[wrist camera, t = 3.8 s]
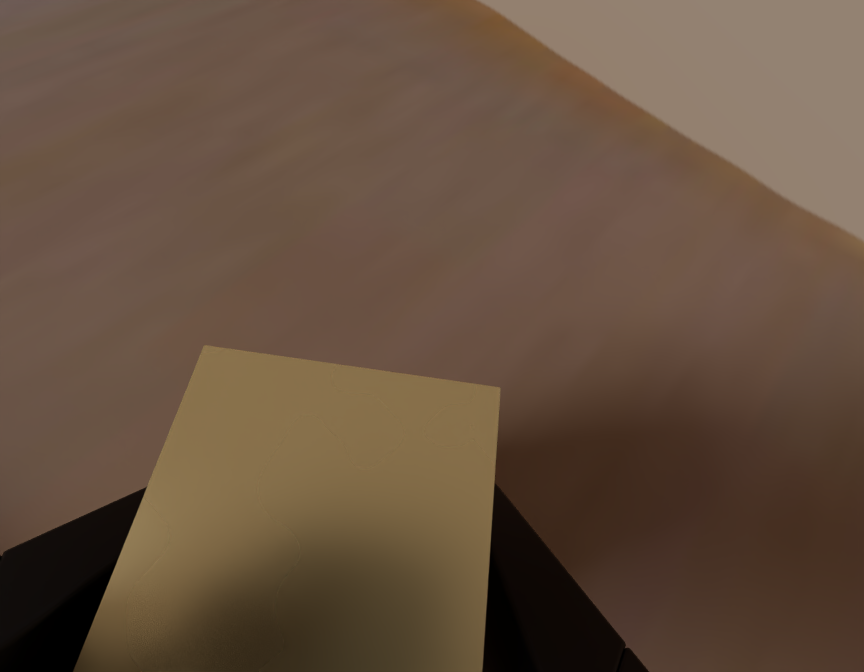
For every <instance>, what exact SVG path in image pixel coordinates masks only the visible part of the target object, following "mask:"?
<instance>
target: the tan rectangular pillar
mask: <svg viewBox="0 0 864 672" xmlns="http://www.w3.org/2000/svg"><path fill="white" fill-rule="evenodd" d="M499 403H500V387H493V386H486V385H479V384H472V383H465V382H458V381H451V380H444V379H437V378H430V377H423V376H416V375H409V374H402V373H395V372H388V371H381V370H374V369H367V368H360V367H353V366H346V365H339V364H332V363H325V362H318V361H311V360H304V359H297V358H290V357H283V356H276V355H269V354H262V353H255V352H248V351H241V350H234V349H227V348H220V347H213V346H206V345H204V347H203V350H202V352H201V355H200V357H199V359H198V362H197V364H196V367H195V369H194V372H193V374H192V377H191V379H190V382H189V384H188V387H187V389H186V392H185V394H184V397H183V399H182V402H181V404H180V407H179V409H178V412H177V414H176V417H175V419H174V422H173V424H172V427H171V429H170V432H169V434H168V437H167V439H166V442H165V444H164V447H163V449H162V452H161V454H160V457H159V459H158V462H157V464H156V466H155V469H154V471H153V474H152V476H151V479H150V481H149V484H148V486H147V489H146V491H145V494H144V496H143V499H142V501H141V504H140V506H139V509H138V511H137V514H136V516H135V519H134V521H133V524H132V526H131V529H130V531H129V534H128V536H127V539H126V541H125V544H124V546H123V549H122V551H121V554H120V556H119V559H118V561H117V564H116V566H115V569H114V571H113V573H112V576H111V578H110V581H109V583H108V586H107V588H106V591H105V593H104V596H103V598H102V601H101V603H100V606H99V608H98V611H97V613H96V616H95V618H94V621H93V623H92V626H91V628H90V631H89V633H88V636H87V638H86V641H85V643H84V646H83V648H82V651H81V653H80V656H79V658H78V661H77V663H76V666H75V668H74V671H73V672H482V668H483V652H484V637H485V621H486V605H487V590H488V574H489V559H490V543H491V528H492V512H493V497H494V481H495V466H496V450H497V435H498V419H499Z"/></svg>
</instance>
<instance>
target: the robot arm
mask: <svg viewBox="0 0 864 672" xmlns="http://www.w3.org/2000/svg"><path fill="white" fill-rule="evenodd" d="M146 489H147V487H146V488H143V489H141V490H139V491H137V492H134V493H132V494H130V495H128V496H126V497H123V498H121V499H119V500H117V501H115V502H112V503H110V504H108V505H106V506H104V507H101V508H99V509H97V510H95V511H92V512H90V513H88V514H86V515H84V516H81V517H79V518H77V519H75V520H73V521H70V522H68V523H66V524H64V525H62V526H59V527H57V528H55V529H53V530H50V531H48V532H46V533H44V534H42V535H39V536H37V537H35V538H33V539H31V540H28V541H26V542H24V543H22V544H19V545H17V546H15V547H13V548H11V549H8V550H6V551H5V552H4V553H3V555H2V556H1V555H0V672H73V671H74V668H75V666H76V663H77V661H78V658H79V656H80V653H81V651H82V648H83V646H84V643H85V641H86V638H87V636H88V633H89V631H90V628H91V626H92V623H93V621H94V618H95V616H96V613H97V611H98V608H99V606H100V603H101V601H102V598H103V596H104V593H105V591H106V588H107V586H108V583H109V581H110V578H111V576H112V573H113V571H114V569H115V566H116V564H117V561H118V559H119V556H120V554H121V551H122V549H123V546H124V544H125V541H126V539H127V536H128V534H129V531H130V529H131V526H132V524H133V521H134V519H135V516H136V514H137V511H138V509H139V506H140V504H141V501H142V499H143V496H144V494H145V491H146ZM625 646H626V644H625V642H624V641H623V639H622V638H621V637H620V636H619V635H618V633H617V632H616V631H615V630H614V628H613V627H612V626H611V625H610V623H609V622H608V621H607V620H606V619H605V617H604V616H603V615H602V614H601V612H600V611H599V610H598V609H597V607H596V606H595V605H594V604H593V602H592V601H591V600H590V599H589V598H588V596H587V595H586V594H585V593H584V591H583V590H582V589H581V588H580V586H579V585H578V584H577V583H576V582H575V580H574V579H573V578H572V577H571V575H570V574H569V573H568V572H567V570H566V569H565V568H564V567H563V566H562V564H561V563H560V562H559V561H558V559H557V558H556V557H555V556H554V554H553V553H552V552H551V551H550V550H549V548H548V547H547V546H546V545H545V543H544V542H543V541H542V540H541V538H540V537H539V536H538V535H537V533H536V532H535V531H534V530H533V529H532V527H531V526H530V525H529V524H528V522H527V521H526V520H525V519H524V517H523V516H522V515H521V514H520V513H519V511H518V510H517V509H516V508H515V506H514V505H513V504H512V503H511V501H510V500H509V499H508V498H507V497H506V495H505V494H504V493H503V492H502V490H501V489H500V488H499V487H498V486H497V485H496V484H494V497H493V512H492V528H491V543H490V559H489V574H488V590H487V605H486V621H485V637H484V652H483V668H482V672H649V671H648V670H647V669H646V667H645V666H644V665H643V664H642V663H641V661H640V660H639V659H638V658H637V656H636V655H635V654H634V653H633V651H632V650H631V649H630V648H625Z"/></svg>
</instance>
